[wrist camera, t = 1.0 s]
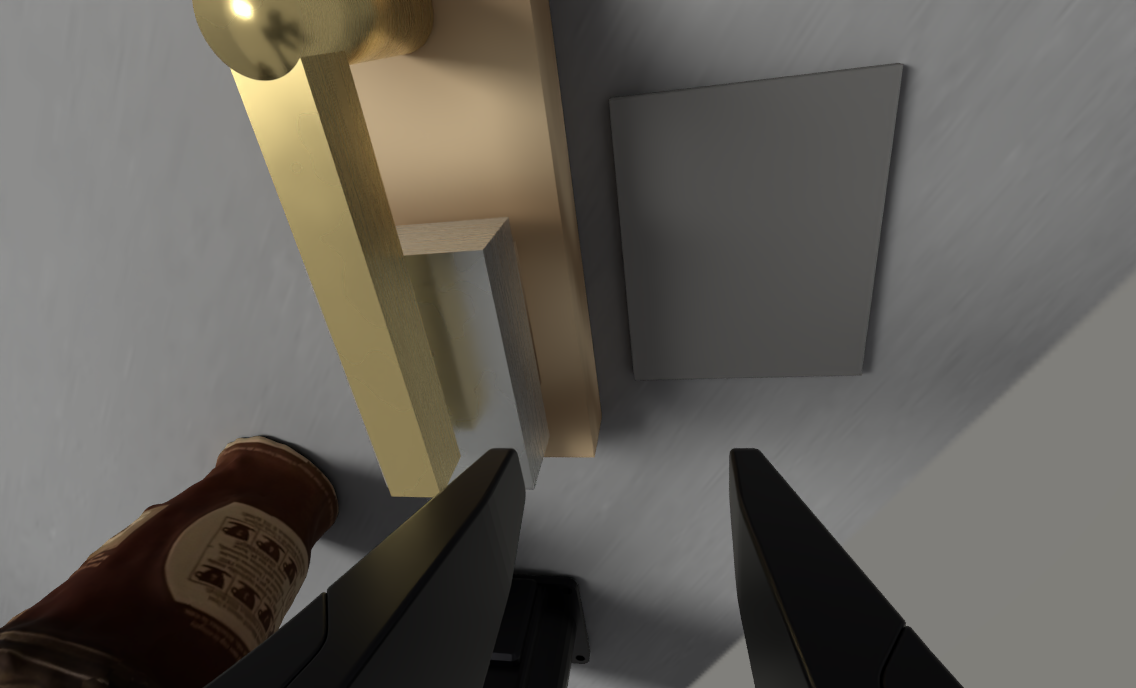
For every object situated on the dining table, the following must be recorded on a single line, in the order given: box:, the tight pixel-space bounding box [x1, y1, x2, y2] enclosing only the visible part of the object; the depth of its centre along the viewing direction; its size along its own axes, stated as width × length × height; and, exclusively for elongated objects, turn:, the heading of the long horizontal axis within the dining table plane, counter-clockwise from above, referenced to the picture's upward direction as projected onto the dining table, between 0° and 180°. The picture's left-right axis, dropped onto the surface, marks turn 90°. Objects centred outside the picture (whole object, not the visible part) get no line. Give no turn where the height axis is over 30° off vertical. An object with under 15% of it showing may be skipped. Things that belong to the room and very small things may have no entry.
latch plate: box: [349, 0, 602, 457], centre depth 18 cm, size 17×7×4 cm, turn 8°
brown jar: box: [0, 436, 339, 688], centre depth 24 cm, size 9×8×13 cm
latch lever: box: [192, 0, 461, 497], centre depth 15 cm, size 12×2×6 cm, turn 8°
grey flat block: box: [303, 217, 550, 490], centre depth 17 cm, size 8×5×2 cm, turn 8°
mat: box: [609, 63, 903, 380], centre depth 19 cm, size 10×8×1 cm
